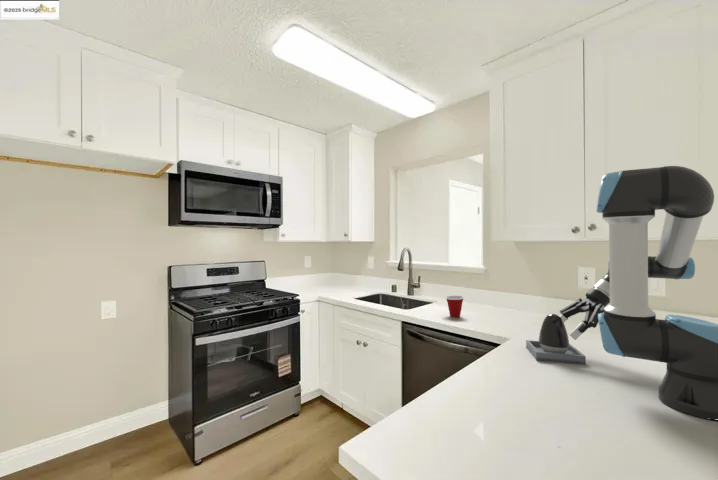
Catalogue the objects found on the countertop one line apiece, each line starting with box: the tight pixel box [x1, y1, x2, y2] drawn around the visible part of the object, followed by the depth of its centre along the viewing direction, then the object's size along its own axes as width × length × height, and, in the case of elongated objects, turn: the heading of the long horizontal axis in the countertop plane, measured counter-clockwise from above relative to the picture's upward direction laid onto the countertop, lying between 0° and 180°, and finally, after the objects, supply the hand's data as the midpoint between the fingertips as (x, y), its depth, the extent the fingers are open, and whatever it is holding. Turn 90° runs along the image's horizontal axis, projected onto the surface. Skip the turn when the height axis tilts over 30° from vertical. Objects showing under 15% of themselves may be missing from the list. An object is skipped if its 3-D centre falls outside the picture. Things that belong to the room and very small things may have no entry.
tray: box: [525, 339, 587, 365], centre depth 125 cm, size 16×16×3 cm
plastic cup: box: [445, 295, 465, 318], centre depth 194 cm, size 11×11×12 cm
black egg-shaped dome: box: [538, 313, 570, 354], centre depth 124 cm, size 10×10×15 cm
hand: (561, 332), depth 125 cm, fingers open, 13 cm apart
